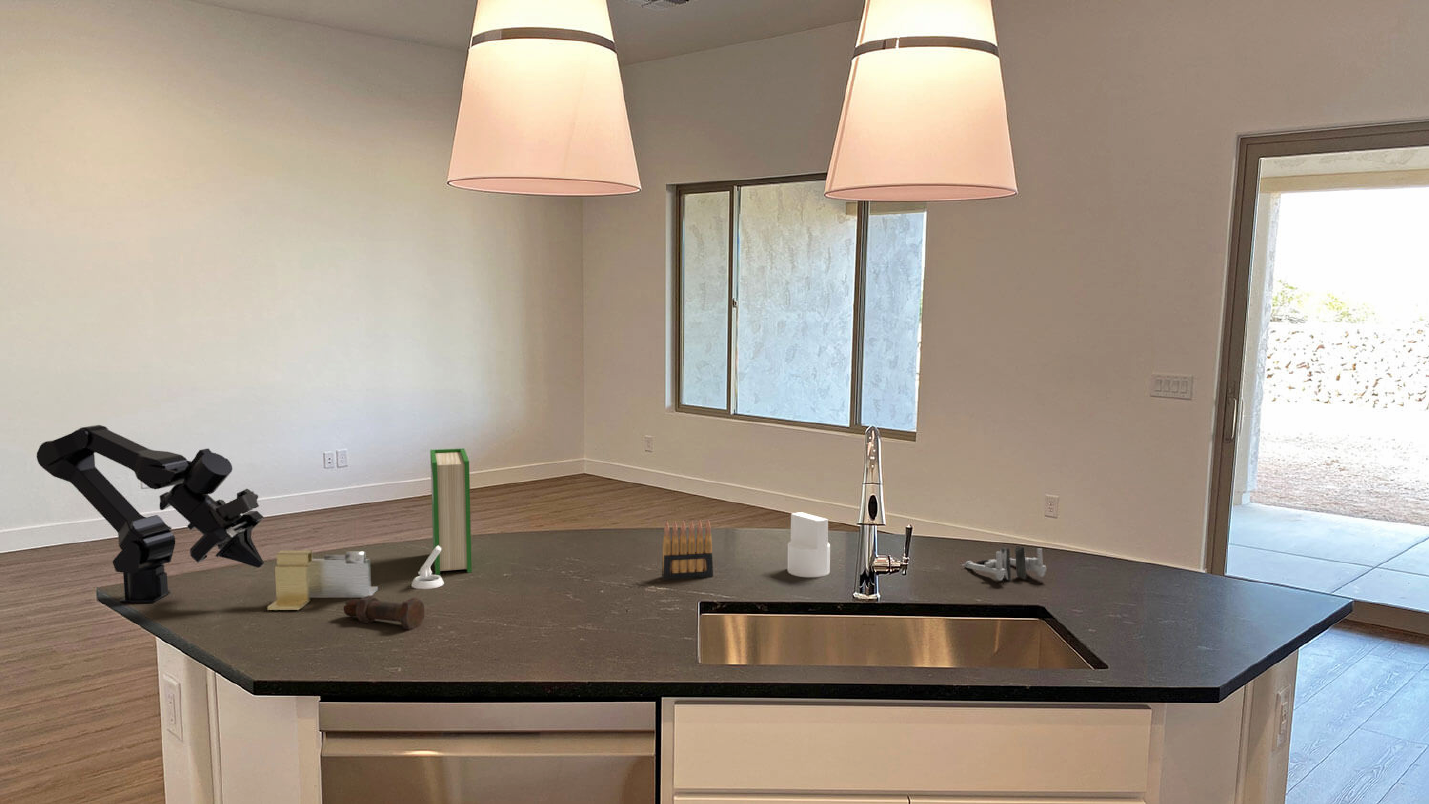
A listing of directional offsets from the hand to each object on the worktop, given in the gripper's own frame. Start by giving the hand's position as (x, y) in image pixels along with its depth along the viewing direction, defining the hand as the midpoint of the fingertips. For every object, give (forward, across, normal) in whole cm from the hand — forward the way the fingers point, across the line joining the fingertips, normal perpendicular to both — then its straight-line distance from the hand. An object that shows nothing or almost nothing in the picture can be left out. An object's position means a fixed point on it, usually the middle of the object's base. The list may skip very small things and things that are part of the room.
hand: (261, 565), depth 187 cm
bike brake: (+111, +22, -98) cm, 150 cm away
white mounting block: (+14, +5, -4) cm, 16 cm away
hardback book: (+26, +29, -14) cm, 41 cm away
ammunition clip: (+63, +18, -51) cm, 83 cm away
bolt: (+24, -10, -12) cm, 29 cm away
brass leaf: (+9, -1, +1) cm, 9 cm away
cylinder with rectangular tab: (+82, +22, -69) cm, 109 cm away
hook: (+25, +13, -14) cm, 31 cm away
